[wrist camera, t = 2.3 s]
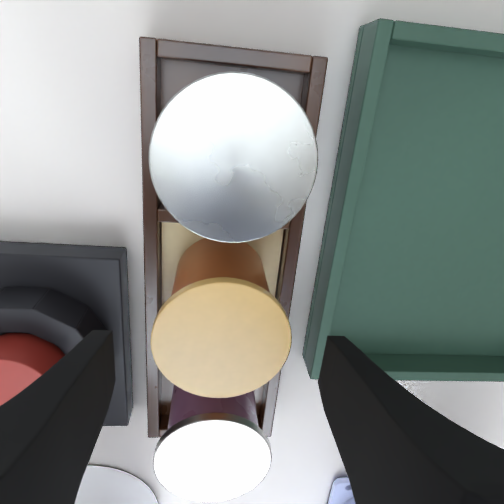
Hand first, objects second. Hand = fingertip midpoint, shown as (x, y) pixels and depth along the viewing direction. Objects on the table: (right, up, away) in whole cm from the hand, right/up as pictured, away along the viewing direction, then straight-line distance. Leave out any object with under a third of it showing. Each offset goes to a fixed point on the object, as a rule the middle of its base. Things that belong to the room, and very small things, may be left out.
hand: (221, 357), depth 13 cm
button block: (-9, -1, +7) cm, 12 cm away
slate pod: (0, +8, +3) cm, 9 cm away
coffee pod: (0, +2, +6) cm, 6 cm away
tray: (+11, +5, +6) cm, 14 cm away
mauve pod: (-1, -3, +8) cm, 9 cm away
